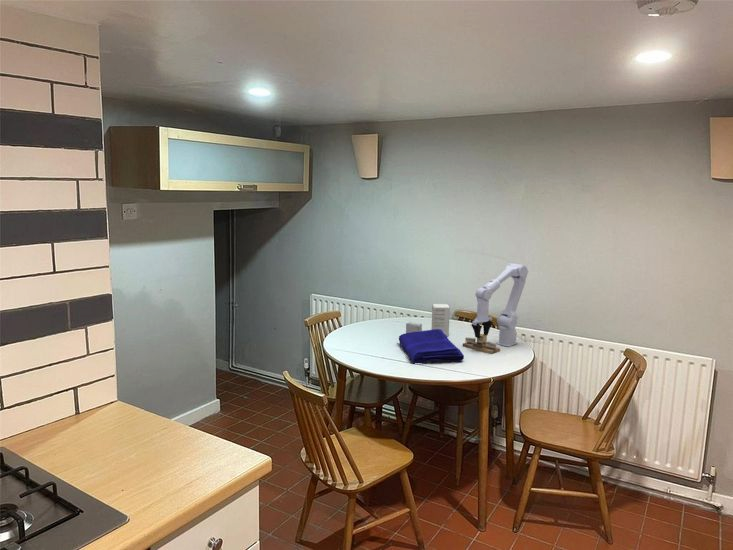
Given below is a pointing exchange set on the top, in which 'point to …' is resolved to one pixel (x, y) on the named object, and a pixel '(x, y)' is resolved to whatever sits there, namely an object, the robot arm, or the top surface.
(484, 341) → the wooden block with knob
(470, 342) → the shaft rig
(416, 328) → the medicine box
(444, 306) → the supplement box
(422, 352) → the towel
